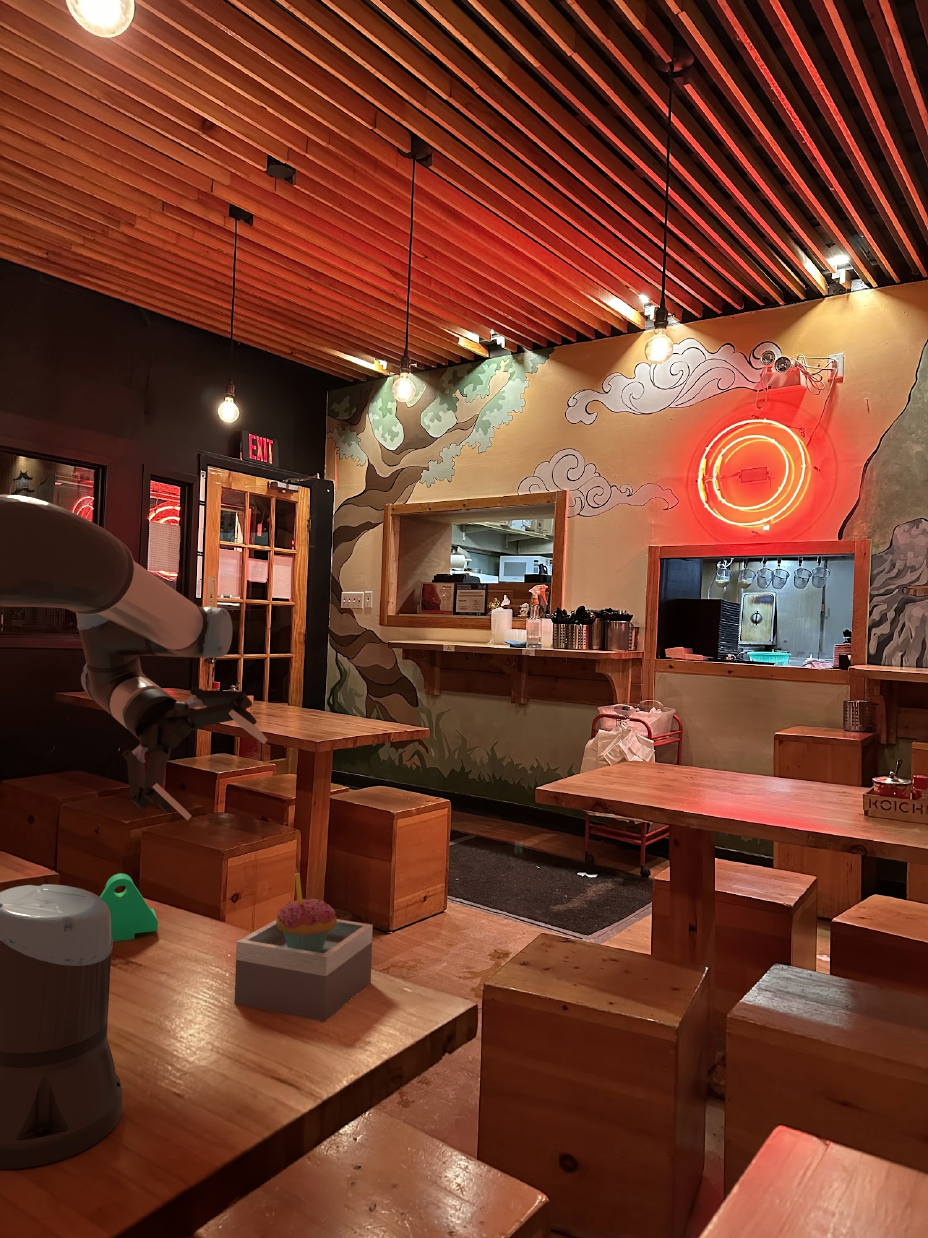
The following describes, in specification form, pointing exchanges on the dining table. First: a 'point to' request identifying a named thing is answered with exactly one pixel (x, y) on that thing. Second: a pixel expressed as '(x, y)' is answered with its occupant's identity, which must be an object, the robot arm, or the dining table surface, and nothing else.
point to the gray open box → (302, 985)
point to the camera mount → (127, 909)
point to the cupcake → (306, 921)
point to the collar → (264, 953)
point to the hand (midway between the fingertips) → (223, 773)
